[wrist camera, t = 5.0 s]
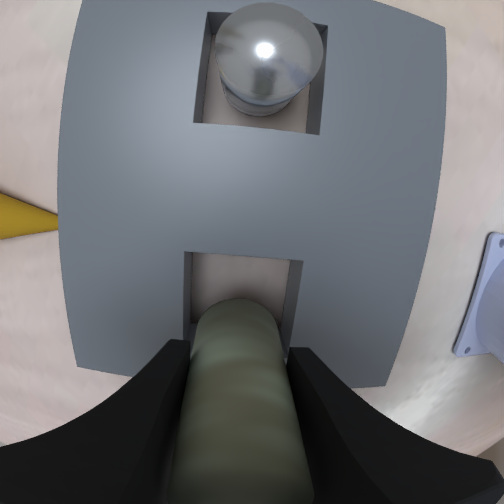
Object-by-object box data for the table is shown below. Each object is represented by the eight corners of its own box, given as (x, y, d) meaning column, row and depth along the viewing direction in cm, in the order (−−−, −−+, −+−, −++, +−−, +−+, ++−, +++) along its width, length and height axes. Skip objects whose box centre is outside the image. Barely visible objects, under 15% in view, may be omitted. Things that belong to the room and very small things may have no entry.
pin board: (418, 41, 12) (445, 27, 9) (369, 358, 17) (385, 385, 14) (106, 7, 11) (86, -14, 8) (94, 340, 16) (77, 366, 13)
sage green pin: (284, 303, 11) (332, 466, 5) (271, 369, 12) (296, 527, 6) (198, 294, 11) (161, 460, 5) (194, 363, 12) (170, 523, 5)
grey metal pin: (296, 56, 12) (325, 11, 7) (290, 120, 13) (319, 103, 8) (226, 48, 12) (221, -2, 7) (219, 113, 13) (208, 90, 8)
